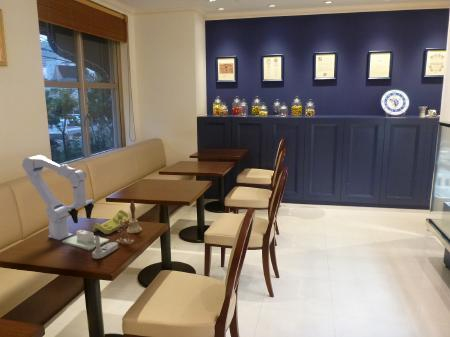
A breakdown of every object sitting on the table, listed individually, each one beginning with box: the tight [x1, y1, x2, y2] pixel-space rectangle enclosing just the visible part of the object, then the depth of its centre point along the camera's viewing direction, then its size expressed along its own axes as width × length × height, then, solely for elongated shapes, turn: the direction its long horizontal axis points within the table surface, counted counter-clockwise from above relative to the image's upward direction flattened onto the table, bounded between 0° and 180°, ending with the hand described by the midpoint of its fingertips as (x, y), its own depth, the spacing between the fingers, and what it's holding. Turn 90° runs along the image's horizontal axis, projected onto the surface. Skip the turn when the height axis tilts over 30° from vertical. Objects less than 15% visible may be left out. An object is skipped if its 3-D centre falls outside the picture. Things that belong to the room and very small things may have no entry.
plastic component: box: [92, 209, 130, 235], centre depth 204 cm, size 20×7×10 cm
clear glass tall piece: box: [115, 219, 136, 246], centre depth 182 cm, size 9×4×12 cm, turn 69°
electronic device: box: [91, 235, 119, 260], centre depth 171 cm, size 5×10×15 cm
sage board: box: [62, 234, 110, 251], centre depth 185 cm, size 20×12×1 cm, turn 58°
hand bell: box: [127, 200, 143, 234], centre depth 198 cm, size 8×8×16 cm
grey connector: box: [75, 229, 95, 243], centre depth 184 cm, size 13×4×4 cm, turn 59°
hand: (82, 220), depth 188 cm, fingers open, 7 cm apart
